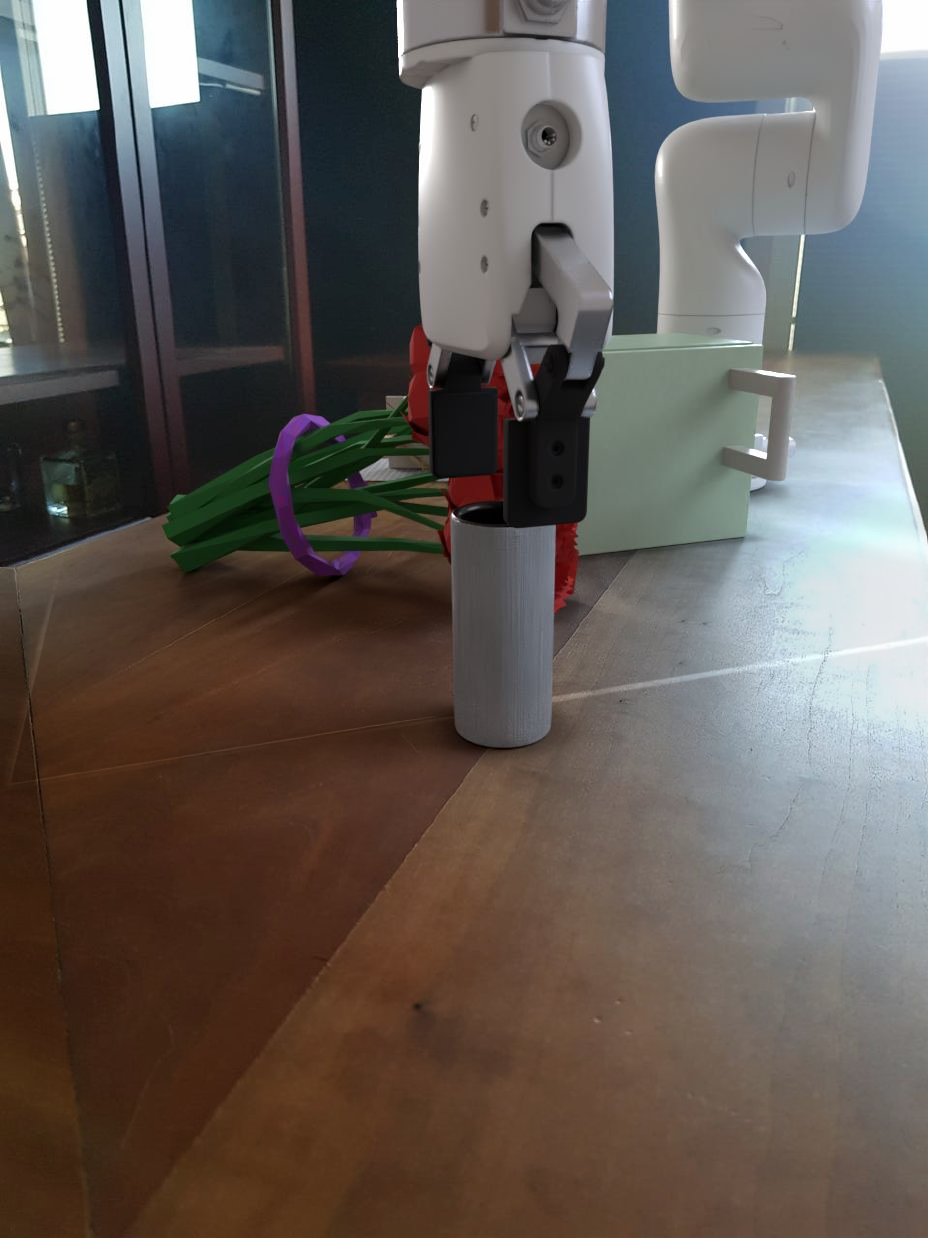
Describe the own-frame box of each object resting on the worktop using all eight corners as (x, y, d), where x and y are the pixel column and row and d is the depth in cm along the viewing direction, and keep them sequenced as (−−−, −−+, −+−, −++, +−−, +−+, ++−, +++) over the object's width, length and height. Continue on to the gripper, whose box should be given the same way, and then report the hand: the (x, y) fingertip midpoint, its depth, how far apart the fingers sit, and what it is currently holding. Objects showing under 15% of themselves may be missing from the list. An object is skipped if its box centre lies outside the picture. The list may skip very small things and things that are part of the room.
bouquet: (258, 608, 78) (613, 564, 67) (130, 688, 64) (555, 649, 52) (188, 368, 73) (560, 274, 61) (29, 396, 58) (478, 280, 47)
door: (796, 558, 68) (819, 351, 63) (571, 586, 63) (577, 364, 58) (738, 533, 74) (755, 344, 69) (530, 557, 69) (532, 354, 64)
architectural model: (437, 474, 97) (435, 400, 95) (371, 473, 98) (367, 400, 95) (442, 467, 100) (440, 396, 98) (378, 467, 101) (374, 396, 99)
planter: (483, 758, 41) (481, 530, 38) (438, 717, 45) (432, 507, 42) (570, 735, 43) (576, 516, 40) (519, 698, 47) (521, 495, 44)
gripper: (725, -28, 28) (684, 539, 34) (512, 82, 43) (510, 457, 49) (482, -51, 25) (484, 560, 31) (350, 73, 41) (368, 467, 47)
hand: (500, 497), depth 40 cm, fingers open, 9 cm apart
